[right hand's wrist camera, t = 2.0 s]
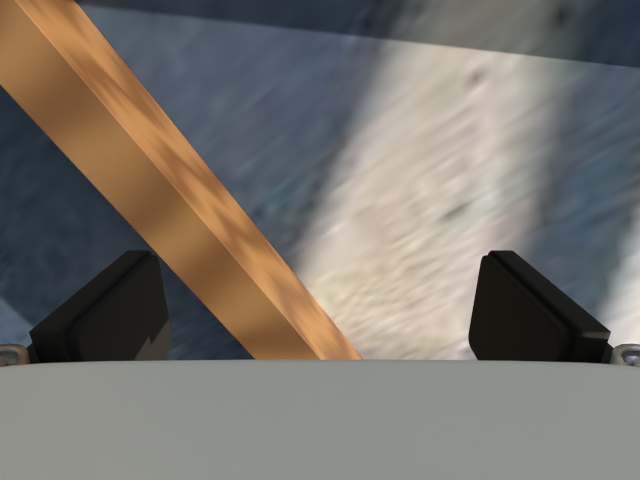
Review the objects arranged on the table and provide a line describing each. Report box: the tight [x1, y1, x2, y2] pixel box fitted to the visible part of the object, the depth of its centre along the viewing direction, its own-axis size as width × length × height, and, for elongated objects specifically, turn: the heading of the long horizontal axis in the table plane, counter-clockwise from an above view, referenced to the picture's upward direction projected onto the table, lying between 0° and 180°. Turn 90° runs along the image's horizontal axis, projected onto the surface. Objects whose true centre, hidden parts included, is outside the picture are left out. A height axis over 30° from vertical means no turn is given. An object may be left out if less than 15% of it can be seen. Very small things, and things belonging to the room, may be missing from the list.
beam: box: [0, 0, 363, 360], centre depth 25 cm, size 83×4×7 cm, turn 35°
